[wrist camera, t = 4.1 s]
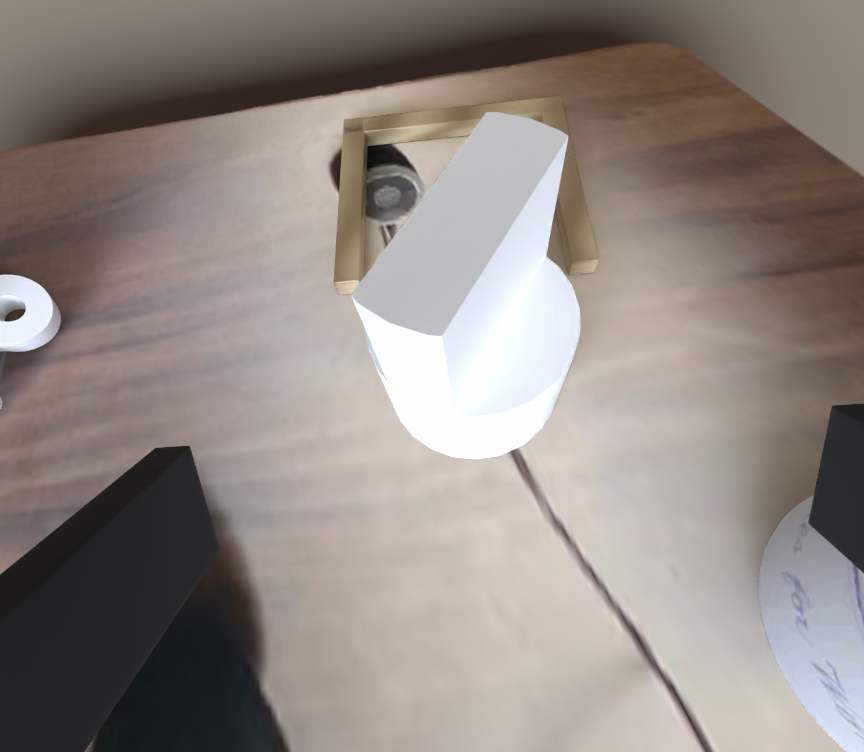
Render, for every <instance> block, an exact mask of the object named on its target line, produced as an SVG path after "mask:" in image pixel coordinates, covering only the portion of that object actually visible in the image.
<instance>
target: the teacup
mask: <svg viewBox="0 0 864 752" xmlns="http://www.w3.org/2000/svg"><path fill="white" fill-rule="evenodd" d="M813 497H814V495H812V496H811V497H809V498H807V499H806V500H804V501H803V502H801V503H800V504H798V505H797V506H796V507H795V508H794V509H792V510H791V511H790V512H789V513H788V514H787V515H786V516H785V517H784V518H783V519H782V521H781V522H780V523H779V525H778V526H777V527H776V529H775V530H774V532H773V533H772V535H771V537H770V539H769V541H768V543H767V545H766V548H765V550H764V554H763V558H762V562H761V566H760V574H759V604H760V611H761V616H762V620H763V624H764V628H765V632H766V636H767V639H768V642H769V644H770V647H771V649H772V652H773V654H774V657H775V659H776V661H777V663H778V665H779V667H780V670H781V671H782V673H783V675H784V677H785V678H786V680H787V682H788V683H789V685H790V687H791V688H792V690H793V692H794V693H795V695H796V696H797V697H798V699H799V700H800V702H801V703H802V704H803V706H804V707H805V708H806V710H807V711H808V712H809V713H810V714H811V716H812V717H813V718H814V719H815V720H816V721H817V723H818V724H819V725H820V726H821V727H822V728H823V729H824V730H825V731H826V732H827V734H828V735H829V736H830V737H832V738H833V739H834V740H835V741H836V742H837V743H838V744H839V745H840V746H841V747H842V748H843V749H844V750H845V751H846V752H864V573H863V572H862V571H861V570H860V569H858V568H857V567H856V566H855V565H854V564H853V563H852V562H851V561H849V560H848V559H847V558H846V557H845V556H844V555H843V554H842V553H841V552H839V551H838V550H837V549H836V548H835V547H834V546H833V545H832V544H831V543H829V542H828V541H827V540H826V539H825V538H824V537H823V536H822V535H821V534H819V533H818V532H817V531H816V530H815V529H814V528H813V527H812V526H810V525H809V524H808V522H809V517H810V512H811V507H812V502H813Z"/></svg>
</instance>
